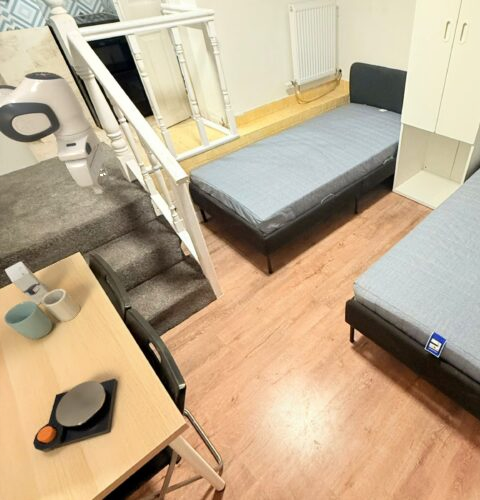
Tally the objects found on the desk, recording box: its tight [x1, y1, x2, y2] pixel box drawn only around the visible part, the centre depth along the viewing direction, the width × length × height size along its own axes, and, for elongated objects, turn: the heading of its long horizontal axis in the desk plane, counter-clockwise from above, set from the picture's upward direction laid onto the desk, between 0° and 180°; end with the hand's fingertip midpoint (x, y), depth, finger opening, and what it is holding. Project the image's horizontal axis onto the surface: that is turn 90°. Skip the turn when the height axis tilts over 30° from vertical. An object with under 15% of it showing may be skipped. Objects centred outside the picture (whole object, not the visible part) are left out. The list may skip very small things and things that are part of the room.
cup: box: [3, 300, 53, 340], centre depth 97 cm, size 8×8×10 cm
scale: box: [32, 378, 119, 453], centre depth 81 cm, size 15×14×4 cm
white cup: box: [41, 288, 81, 322], centre depth 102 cm, size 6×6×8 cm
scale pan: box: [56, 380, 105, 427], centre depth 81 cm, size 11×11×1 cm
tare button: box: [37, 426, 57, 443], centre depth 76 cm, size 3×3×2 cm
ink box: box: [4, 260, 50, 306], centre depth 106 cm, size 8×5×12 cm, turn 49°
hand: (102, 183), depth 98 cm, fingers open, 8 cm apart
